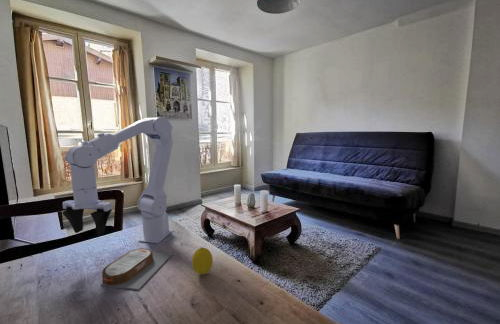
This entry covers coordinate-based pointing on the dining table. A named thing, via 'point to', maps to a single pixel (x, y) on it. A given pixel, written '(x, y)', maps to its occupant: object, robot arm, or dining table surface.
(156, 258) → the felt mat
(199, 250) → the lemon
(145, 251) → the tin
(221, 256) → the dining table surface
